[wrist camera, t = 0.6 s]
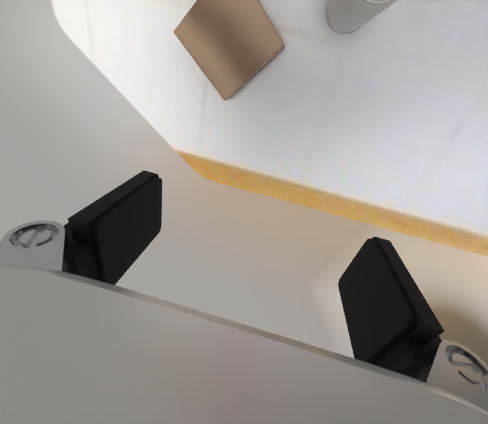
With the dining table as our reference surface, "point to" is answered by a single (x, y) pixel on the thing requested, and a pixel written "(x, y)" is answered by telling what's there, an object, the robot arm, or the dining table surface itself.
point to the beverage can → (353, 13)
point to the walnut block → (229, 41)
